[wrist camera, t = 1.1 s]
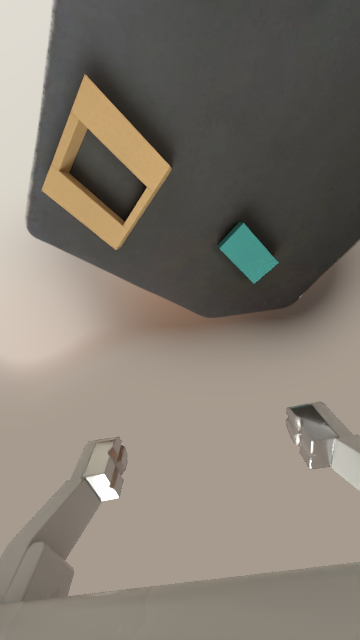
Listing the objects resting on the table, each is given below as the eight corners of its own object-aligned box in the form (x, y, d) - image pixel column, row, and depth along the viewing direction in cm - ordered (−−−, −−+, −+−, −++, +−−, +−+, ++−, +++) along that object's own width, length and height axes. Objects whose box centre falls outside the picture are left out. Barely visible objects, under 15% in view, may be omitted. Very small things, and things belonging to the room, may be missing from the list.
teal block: (239, 221, 34) (243, 222, 32) (272, 258, 37) (278, 262, 35) (217, 245, 37) (219, 248, 34) (250, 278, 40) (254, 283, 37)
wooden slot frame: (94, 86, 26) (84, 73, 24) (172, 169, 31) (170, 166, 28) (52, 191, 33) (41, 190, 31) (120, 246, 38) (115, 250, 35)
